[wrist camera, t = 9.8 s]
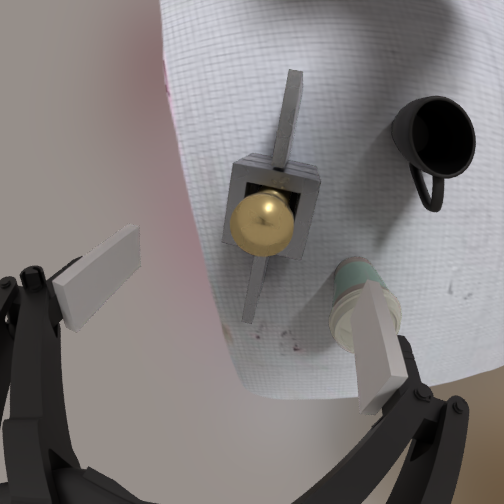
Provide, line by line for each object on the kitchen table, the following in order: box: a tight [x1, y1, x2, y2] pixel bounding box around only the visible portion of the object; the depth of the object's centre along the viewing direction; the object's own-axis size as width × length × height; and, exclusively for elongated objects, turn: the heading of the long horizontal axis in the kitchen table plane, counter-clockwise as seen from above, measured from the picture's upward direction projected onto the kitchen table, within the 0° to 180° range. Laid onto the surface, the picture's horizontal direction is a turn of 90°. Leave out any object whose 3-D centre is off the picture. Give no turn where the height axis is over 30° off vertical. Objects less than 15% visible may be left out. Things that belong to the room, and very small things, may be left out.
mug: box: [392, 96, 476, 212], centre depth 25 cm, size 8×12×10 cm
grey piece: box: [242, 69, 319, 217], centre depth 28 cm, size 17×8×10 cm, turn 171°
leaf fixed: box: [222, 153, 321, 324], centre depth 32 cm, size 17×8×10 cm, turn 171°
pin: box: [230, 185, 294, 257], centre depth 28 cm, size 5×5×15 cm
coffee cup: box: [329, 257, 402, 354], centre depth 32 cm, size 8×8×12 cm
